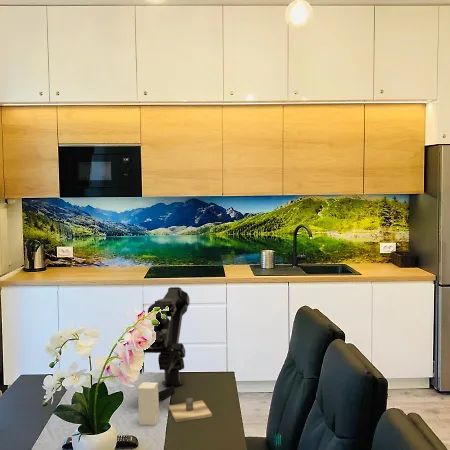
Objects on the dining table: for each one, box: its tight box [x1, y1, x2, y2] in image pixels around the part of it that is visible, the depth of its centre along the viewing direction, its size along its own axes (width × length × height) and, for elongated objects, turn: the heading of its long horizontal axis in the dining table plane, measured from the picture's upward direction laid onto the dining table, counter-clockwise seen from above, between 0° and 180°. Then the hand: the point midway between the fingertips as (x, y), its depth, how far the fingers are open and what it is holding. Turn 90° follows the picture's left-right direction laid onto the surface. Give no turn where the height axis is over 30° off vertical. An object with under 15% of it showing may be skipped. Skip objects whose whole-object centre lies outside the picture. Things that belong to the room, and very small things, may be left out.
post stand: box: [168, 397, 213, 423], centre depth 182 cm, size 12×12×4 cm
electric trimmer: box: [158, 386, 175, 401], centre depth 194 cm, size 4×16×3 cm, turn 143°
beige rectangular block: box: [137, 381, 160, 426], centre depth 176 cm, size 5×5×12 cm
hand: (153, 373), depth 183 cm, fingers open, 9 cm apart
